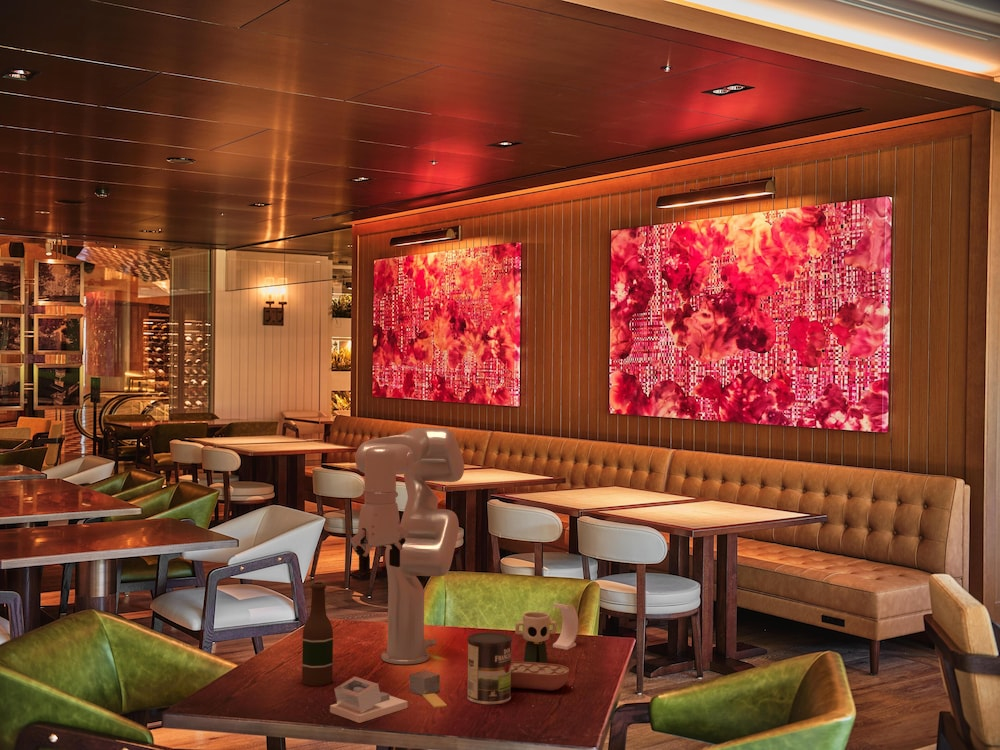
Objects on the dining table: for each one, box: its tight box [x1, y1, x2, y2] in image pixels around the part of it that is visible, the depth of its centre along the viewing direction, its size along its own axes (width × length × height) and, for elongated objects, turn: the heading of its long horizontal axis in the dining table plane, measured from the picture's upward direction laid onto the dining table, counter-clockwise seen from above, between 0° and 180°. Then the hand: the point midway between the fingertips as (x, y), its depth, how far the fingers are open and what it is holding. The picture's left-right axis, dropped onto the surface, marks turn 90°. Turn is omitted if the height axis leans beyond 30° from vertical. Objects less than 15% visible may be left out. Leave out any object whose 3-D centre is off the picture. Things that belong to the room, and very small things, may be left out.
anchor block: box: [409, 670, 441, 697], centre depth 243 cm, size 5×5×4 cm
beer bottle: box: [301, 581, 334, 687], centre depth 250 cm, size 8×8×24 cm
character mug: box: [514, 611, 558, 663], centre depth 267 cm, size 11×7×13 cm, turn 99°
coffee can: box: [466, 631, 513, 706], centre depth 239 cm, size 10×10×14 cm
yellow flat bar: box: [422, 693, 448, 709], centre depth 236 cm, size 9×3×1 cm, turn 21°
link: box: [333, 676, 381, 713], centre depth 227 cm, size 6×8×4 cm
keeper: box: [329, 687, 408, 724], centre depth 229 cm, size 14×10×6 cm
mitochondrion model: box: [511, 660, 570, 692], centre depth 248 cm, size 23×10×5 cm, turn 83°
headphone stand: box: [552, 602, 579, 651], centre depth 286 cm, size 5×6×12 cm
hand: (379, 569), depth 248 cm, fingers open, 9 cm apart
